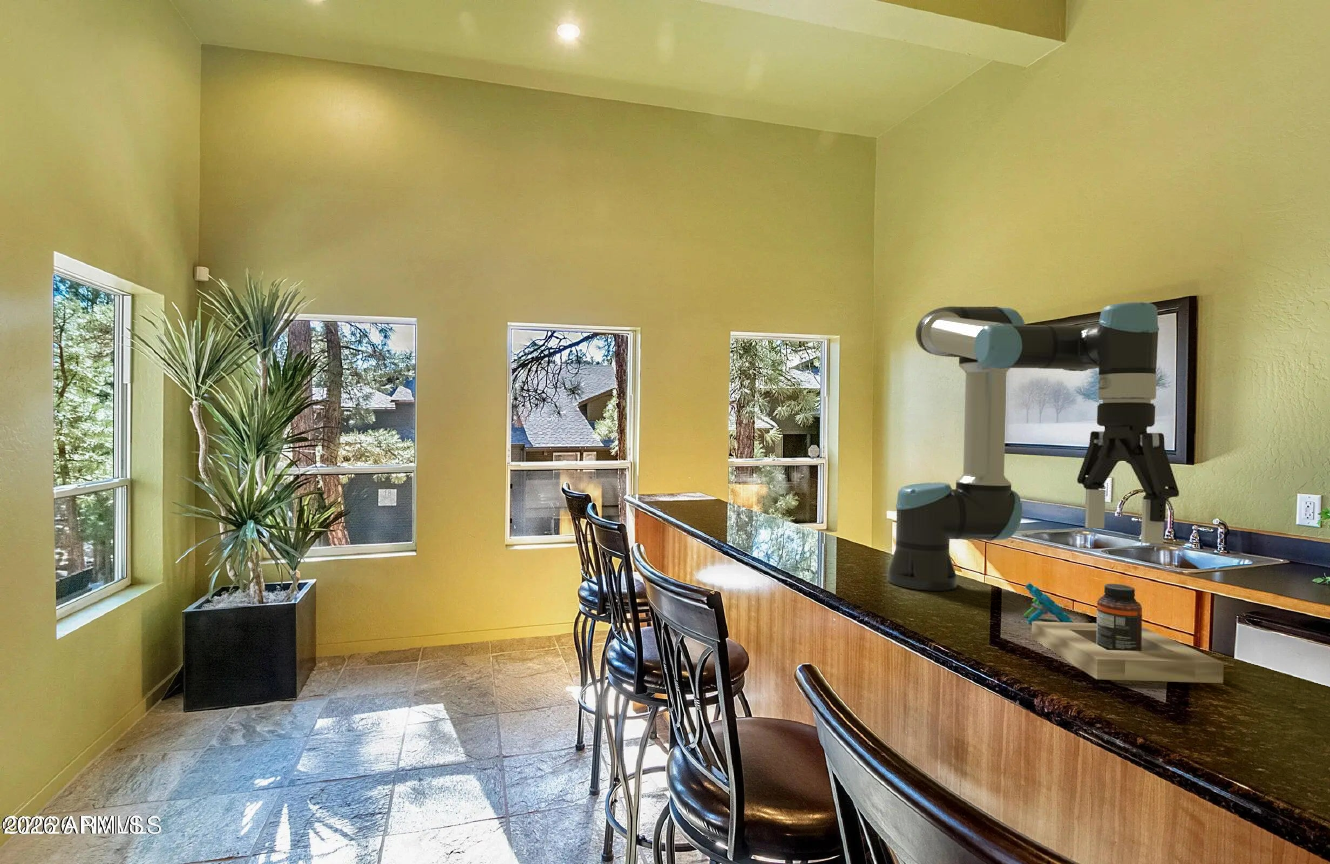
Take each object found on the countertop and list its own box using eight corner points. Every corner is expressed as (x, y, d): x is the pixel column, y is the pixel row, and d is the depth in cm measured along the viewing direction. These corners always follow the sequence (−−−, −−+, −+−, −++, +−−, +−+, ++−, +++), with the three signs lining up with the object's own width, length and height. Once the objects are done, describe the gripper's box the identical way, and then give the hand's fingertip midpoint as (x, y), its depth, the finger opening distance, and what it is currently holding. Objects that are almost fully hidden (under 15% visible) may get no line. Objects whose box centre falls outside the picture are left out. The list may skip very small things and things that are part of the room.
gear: (1085, 626, 115) (1040, 582, 118) (1059, 648, 116) (1014, 604, 119) (1063, 617, 126) (1022, 577, 129) (1040, 637, 127) (999, 597, 129)
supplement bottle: (1124, 651, 107) (1126, 582, 107) (1150, 664, 101) (1152, 591, 101) (1087, 650, 107) (1089, 581, 107) (1111, 663, 101) (1113, 590, 101)
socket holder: (1031, 638, 113) (1031, 621, 113) (1137, 641, 113) (1137, 624, 113) (1096, 679, 95) (1097, 658, 95) (1223, 683, 95) (1223, 662, 95)
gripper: (1057, 403, 116) (1053, 522, 116) (1158, 398, 91) (1153, 549, 91) (1100, 404, 116) (1096, 523, 116) (1213, 399, 91) (1208, 551, 91)
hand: (1121, 535), depth 104 cm, fingers open, 13 cm apart
